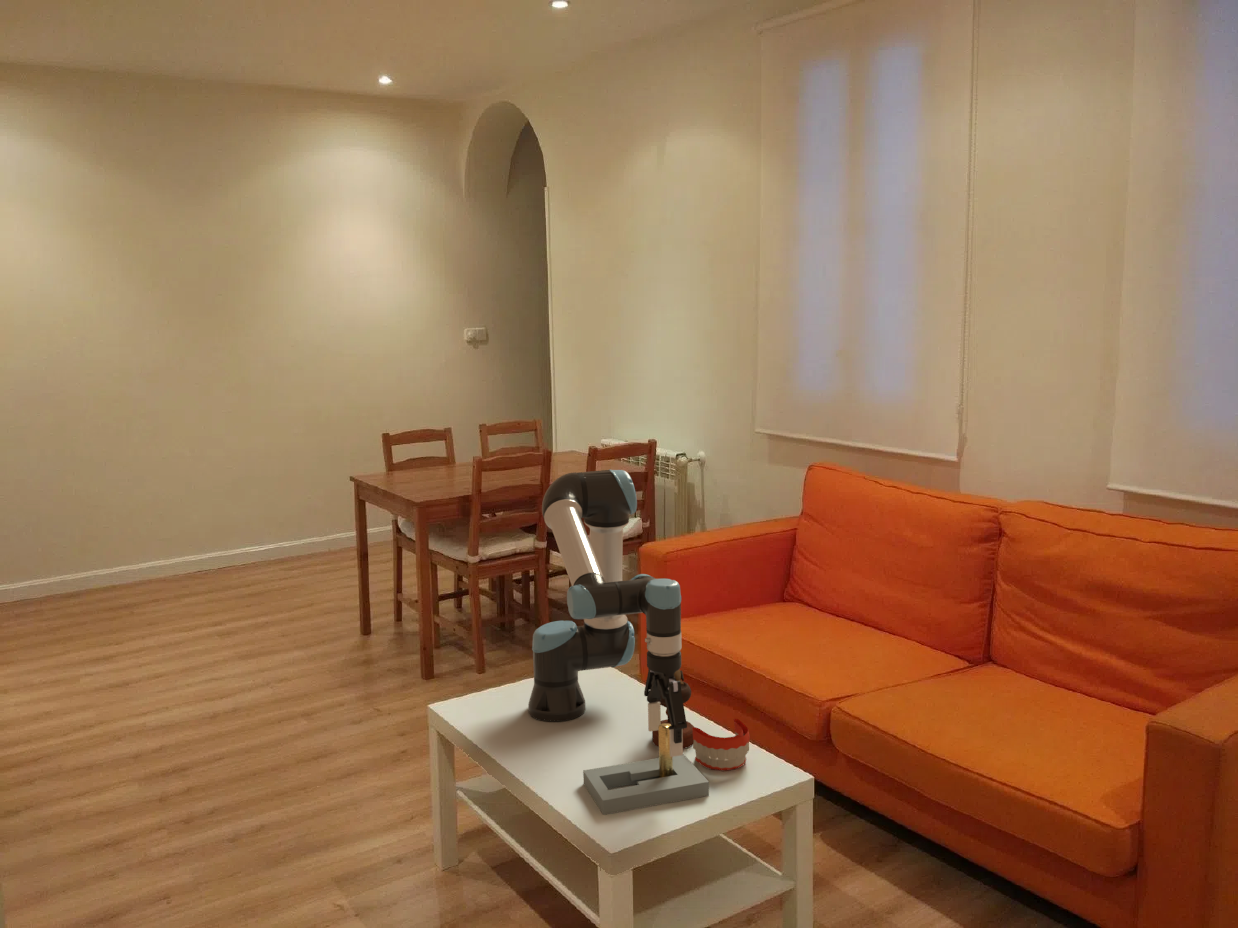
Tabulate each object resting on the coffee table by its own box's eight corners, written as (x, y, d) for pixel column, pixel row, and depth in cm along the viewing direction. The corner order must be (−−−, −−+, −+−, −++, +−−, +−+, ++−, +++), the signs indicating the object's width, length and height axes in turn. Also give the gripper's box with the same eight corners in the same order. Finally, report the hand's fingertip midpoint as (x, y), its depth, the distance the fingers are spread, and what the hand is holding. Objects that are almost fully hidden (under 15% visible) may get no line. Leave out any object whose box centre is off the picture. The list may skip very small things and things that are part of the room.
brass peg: (650, 782, 227) (649, 723, 225) (673, 778, 228) (672, 719, 226) (658, 793, 221) (657, 732, 219) (682, 789, 223) (681, 728, 221)
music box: (708, 746, 244) (700, 668, 241) (667, 759, 240) (659, 680, 237) (679, 723, 258) (672, 649, 255) (640, 735, 254) (632, 660, 250)
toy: (712, 778, 228) (712, 744, 227) (691, 760, 238) (690, 727, 236) (760, 767, 233) (760, 734, 232) (737, 749, 243) (737, 717, 241)
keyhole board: (583, 783, 227) (583, 770, 226) (683, 766, 234) (683, 753, 234) (603, 814, 213) (602, 800, 212) (708, 795, 220) (708, 781, 219)
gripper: (629, 634, 231) (631, 722, 234) (668, 672, 207) (669, 769, 211) (660, 630, 233) (661, 717, 237) (702, 667, 210) (702, 763, 213)
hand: (665, 742), depth 224 cm, fingers open, 13 cm apart
